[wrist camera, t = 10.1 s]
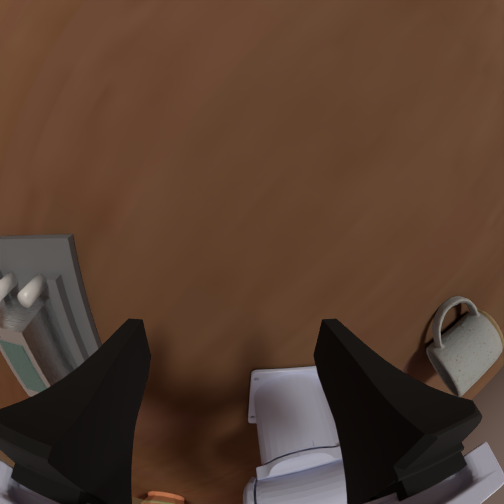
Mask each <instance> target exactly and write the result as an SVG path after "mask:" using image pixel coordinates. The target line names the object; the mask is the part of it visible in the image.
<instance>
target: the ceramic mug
mask: <svg viewBox="0 0 504 504" xmlns="http://www.w3.org/2000/svg"><path fill="white" fill-rule="evenodd" d="M464 302H465V304H467V306H468V308H469V310H470V312H469V313H467V314H466V315H465V316H463V317H462V318H461V319H460V320H459V321H458V322H457V323H456V324H455V325H454V326H453V327H451V328H450V329H449V330H447V331H446V332H445V333H444V334H443V335H441V325H442V322H443V319H444V316H445V314H446V312H447V311H448V310H449V309H450V308H451V307H452V306H455V305H457V304H459V303H464ZM432 331H433V338H434V342H433V343H431V344H430V345H429V346H428V347H427V348H426V351H427V355H428V357H429V360H430V362H431V363H432V365H433V367H434V369H435V370H436V372H437V373H438V375H439V376H440V378H441V379H442V381H443V382H444V383H445V385H446V386H447V387H448V389H449V390H450V391H451V392H452V393H453V394H454V395H455V396H457V397H461V396H462V395H463V394H464V393H465V392H466V391H467V390H468V389H469V388H470V387H471V386H472V385H473V384H474V383H475V382H476V381H477V380H478V379H479V378H480V377H481V376H482V375H483V374H484V373H485V372H486V371H487V370H488V369H489V368H490V367H491V366H492V364H493V363H494V362H495V361H496V360H497V358H498V357H499V355H500V354H501V352H502V350H503V348H504V338H503V335H502V332H501V330H500V328H499V326H498V325H497V323H496V322H495V320H494V319H493V318H492V317H491V316H490V315H489V314H487V313H486V312H484V311H482V310H479V309H477V308H476V306H475V305H474V303H472V302H471V301H470V300H469V299H467V298H465V297H461V296H456V297H452V298H450V299H448V300H447V301H446V302H444V303H443V304H442V305H441V306H440V307H439V309H438V310H437V312H436V314H435V317H434V320H433V325H432Z"/></svg>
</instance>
